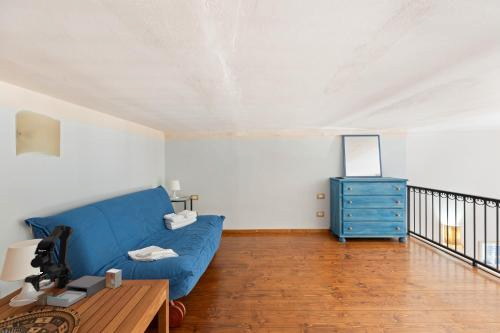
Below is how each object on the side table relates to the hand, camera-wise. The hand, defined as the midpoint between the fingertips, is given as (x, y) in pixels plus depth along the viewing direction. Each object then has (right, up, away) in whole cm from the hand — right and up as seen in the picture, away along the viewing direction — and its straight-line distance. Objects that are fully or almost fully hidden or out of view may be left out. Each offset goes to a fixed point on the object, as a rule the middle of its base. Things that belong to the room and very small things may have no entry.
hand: (45, 288), depth 140 cm
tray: (+11, -9, +2) cm, 14 cm away
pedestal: (0, -9, 0) cm, 9 cm away
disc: (0, +1, 0) cm, 1 cm away
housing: (+14, -9, +15) cm, 23 cm away
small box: (+29, -9, +21) cm, 37 cm away
